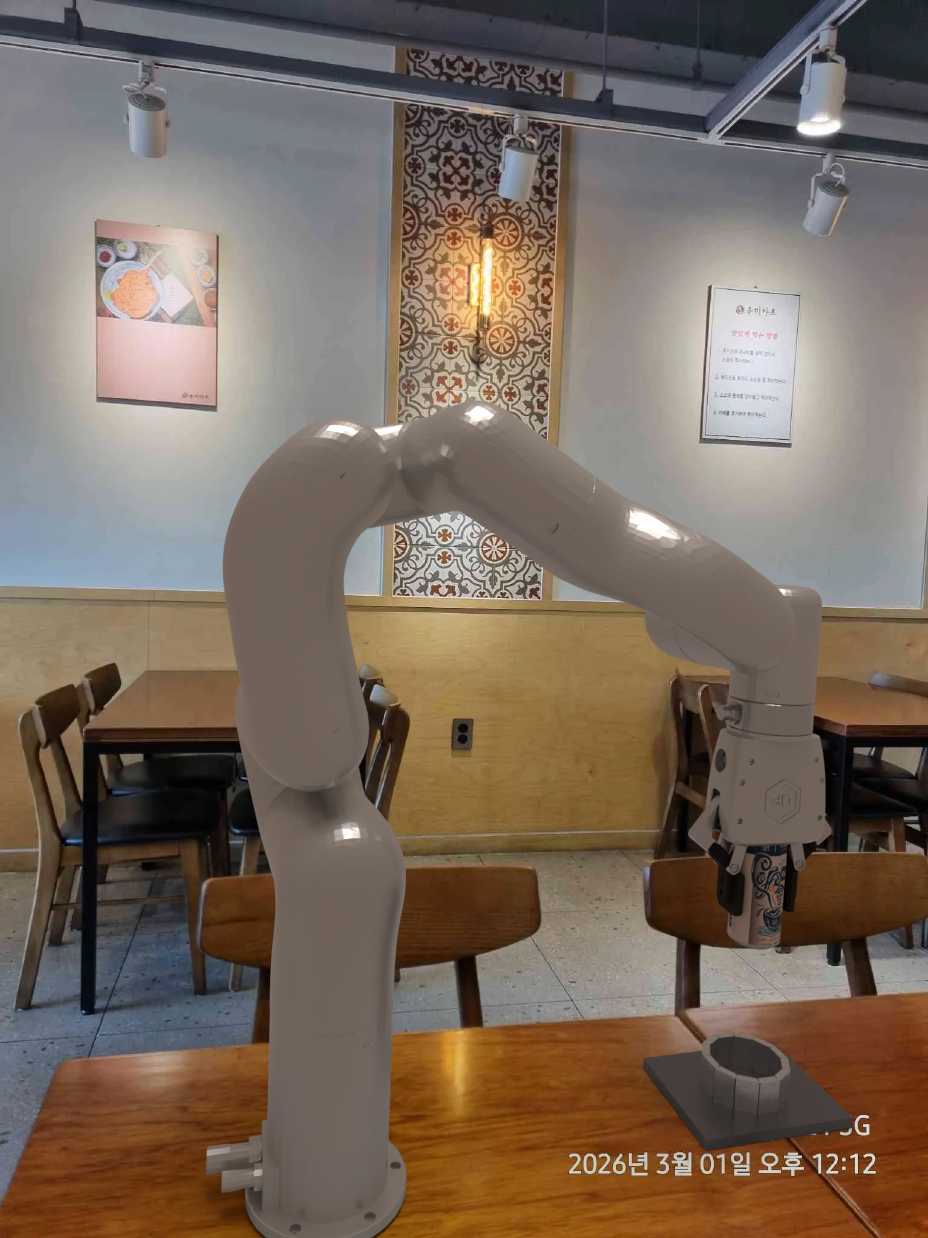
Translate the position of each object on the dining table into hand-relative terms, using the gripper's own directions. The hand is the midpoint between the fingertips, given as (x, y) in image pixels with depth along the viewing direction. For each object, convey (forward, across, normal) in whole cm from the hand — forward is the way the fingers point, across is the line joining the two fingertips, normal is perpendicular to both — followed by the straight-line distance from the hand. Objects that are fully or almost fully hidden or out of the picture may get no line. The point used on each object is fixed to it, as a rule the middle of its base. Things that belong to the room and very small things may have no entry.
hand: (755, 906), depth 79 cm
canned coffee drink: (+4, 0, 0) cm, 4 cm away
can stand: (+19, 0, 0) cm, 19 cm away
